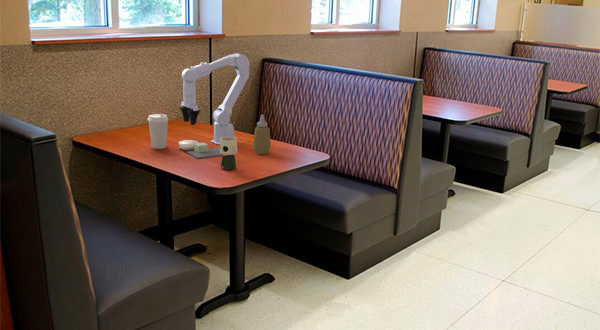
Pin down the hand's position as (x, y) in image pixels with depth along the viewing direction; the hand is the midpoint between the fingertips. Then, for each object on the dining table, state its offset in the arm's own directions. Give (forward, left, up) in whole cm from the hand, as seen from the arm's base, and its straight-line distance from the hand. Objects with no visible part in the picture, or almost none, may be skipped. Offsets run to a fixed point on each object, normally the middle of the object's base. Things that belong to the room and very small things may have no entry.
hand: (189, 123), depth 284 cm
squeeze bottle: (-22, +30, -11) cm, 39 cm away
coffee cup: (+15, -2, -11) cm, 18 cm away
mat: (0, +20, -10) cm, 22 cm away
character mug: (+3, +45, -11) cm, 46 cm away
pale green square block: (+1, +15, -10) cm, 18 cm away
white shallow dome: (+4, +7, -10) cm, 13 cm away
